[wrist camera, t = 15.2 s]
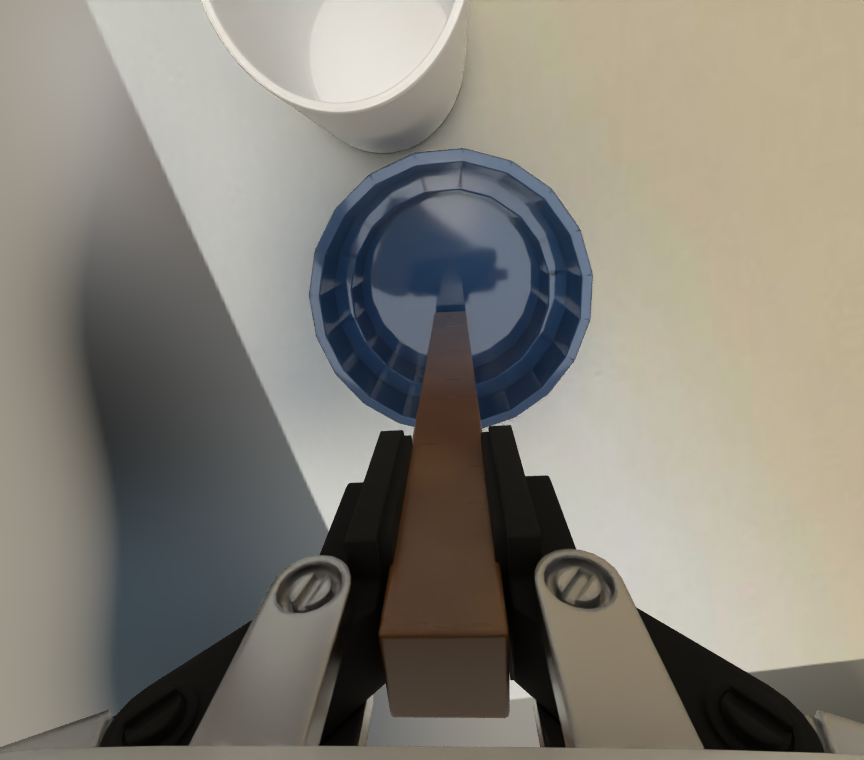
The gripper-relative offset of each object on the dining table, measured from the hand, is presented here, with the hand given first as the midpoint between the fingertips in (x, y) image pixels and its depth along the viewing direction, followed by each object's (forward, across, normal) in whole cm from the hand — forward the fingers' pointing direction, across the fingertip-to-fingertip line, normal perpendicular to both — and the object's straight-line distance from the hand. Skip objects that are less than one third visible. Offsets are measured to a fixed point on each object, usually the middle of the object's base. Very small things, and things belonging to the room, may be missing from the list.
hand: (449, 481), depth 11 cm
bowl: (+17, 0, -2) cm, 17 cm away
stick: (+15, 0, 0) cm, 15 cm away
